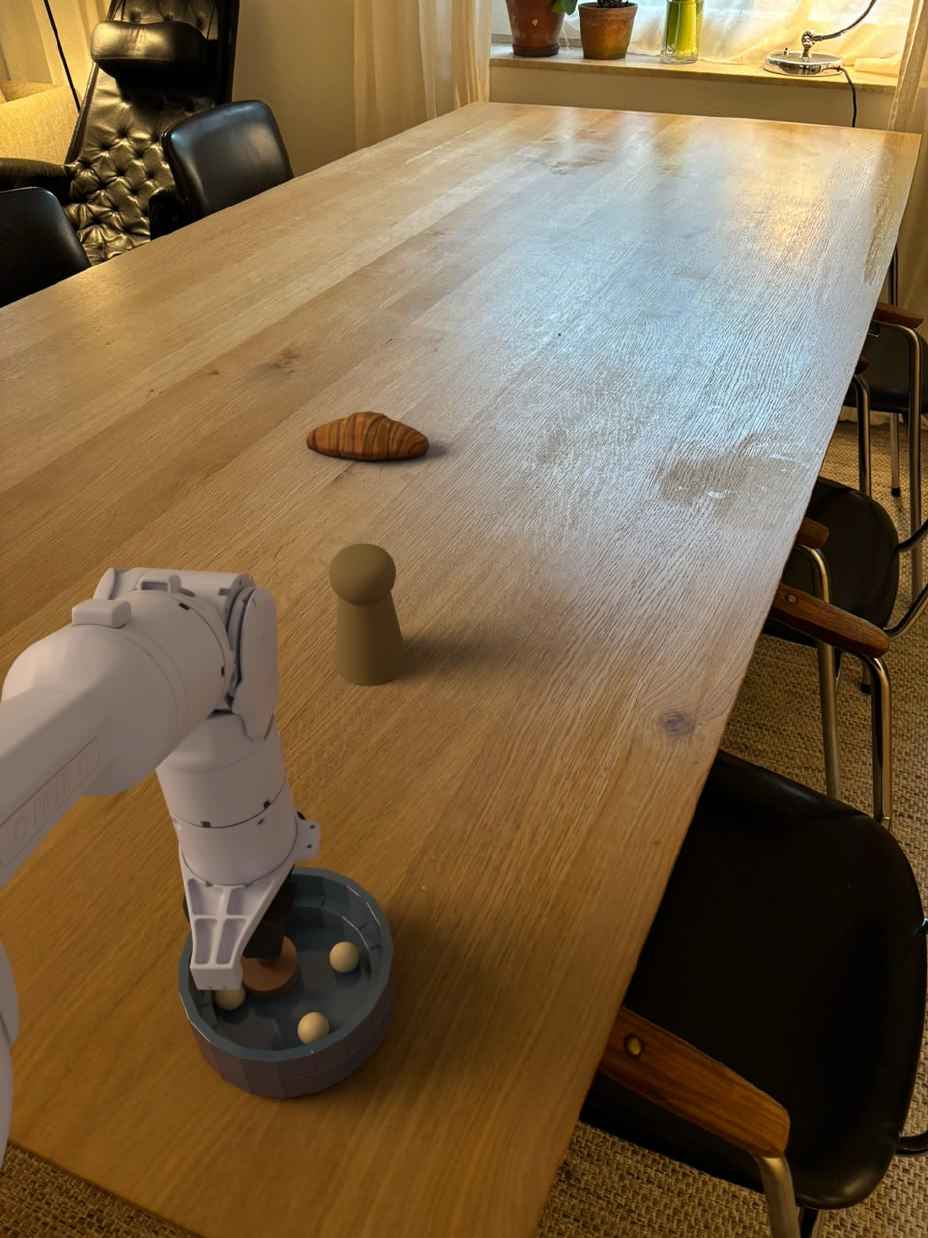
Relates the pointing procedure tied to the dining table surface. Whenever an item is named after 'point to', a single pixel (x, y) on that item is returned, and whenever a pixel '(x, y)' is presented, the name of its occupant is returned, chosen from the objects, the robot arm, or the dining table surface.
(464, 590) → the dining table surface
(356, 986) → the bowl
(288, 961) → the wooden pestle
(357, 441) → the croissant
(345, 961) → the chickpea
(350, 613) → the brown game pawn
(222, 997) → the chickpea
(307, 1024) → the chickpea
